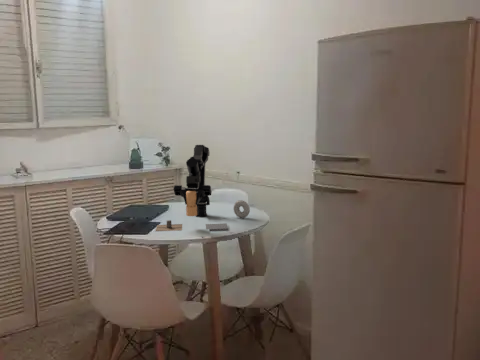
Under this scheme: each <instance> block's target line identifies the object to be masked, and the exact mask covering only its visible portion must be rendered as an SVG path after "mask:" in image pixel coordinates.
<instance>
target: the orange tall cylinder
mask: <svg viewBox="0 0 480 360" xmlns="http://www.w3.org/2000/svg"><path fill="white" fill-rule="evenodd" d="M185 205H186V206H185V208H186V209H185V210H186V211H185V212H186V214H185V215H186V216H187V217H197V216H196V215H197V205H196V191H186V204H185Z"/></svg>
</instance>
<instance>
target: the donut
mask: <svg viewBox="0 0 480 360" xmlns="http://www.w3.org/2000/svg"><path fill="white" fill-rule="evenodd" d="M241 207H242V209H243V211H241V209H240V208H241ZM250 210H251V209H250V206H249V203H247V201H245V200H243V199H241V200H237V201H236V202H235V203H234V205H233V212H234V214H235V216H236V217H237V218H240V219H245V218H247V217H248V216H249V215H250V212H251V211H250Z"/></svg>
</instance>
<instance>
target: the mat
mask: <svg viewBox="0 0 480 360" xmlns="http://www.w3.org/2000/svg"><path fill="white" fill-rule="evenodd" d="M205 230H209V232H219V231H220V232H221V231H222V232H223V231H227V232H228V231H229V227H228V224H227V223H205Z"/></svg>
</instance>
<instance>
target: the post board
mask: <svg viewBox="0 0 480 360" xmlns="http://www.w3.org/2000/svg"><path fill="white" fill-rule="evenodd" d="M182 230H183V223H180V224H179V223H178V224H177V223H176V224H172V220H171V219H167V220H166V224H156V228H155V232H170V231H173V232H175V231H182Z"/></svg>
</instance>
